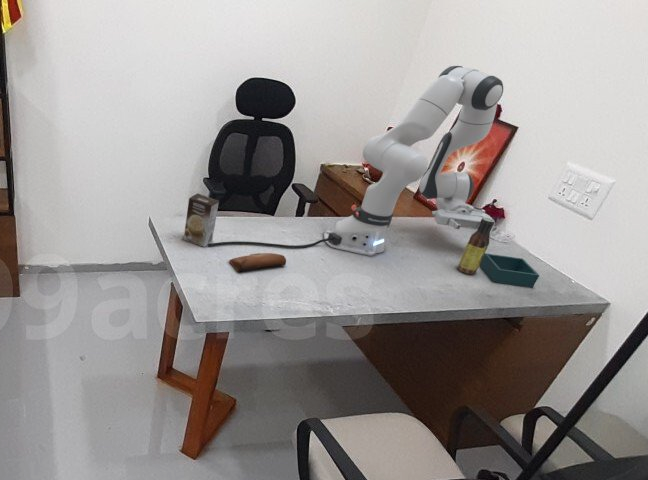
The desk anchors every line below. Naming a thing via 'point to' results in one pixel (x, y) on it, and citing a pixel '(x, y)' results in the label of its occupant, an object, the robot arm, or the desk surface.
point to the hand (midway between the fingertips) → (471, 229)
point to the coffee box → (200, 219)
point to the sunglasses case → (257, 261)
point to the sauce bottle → (476, 247)
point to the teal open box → (509, 270)
